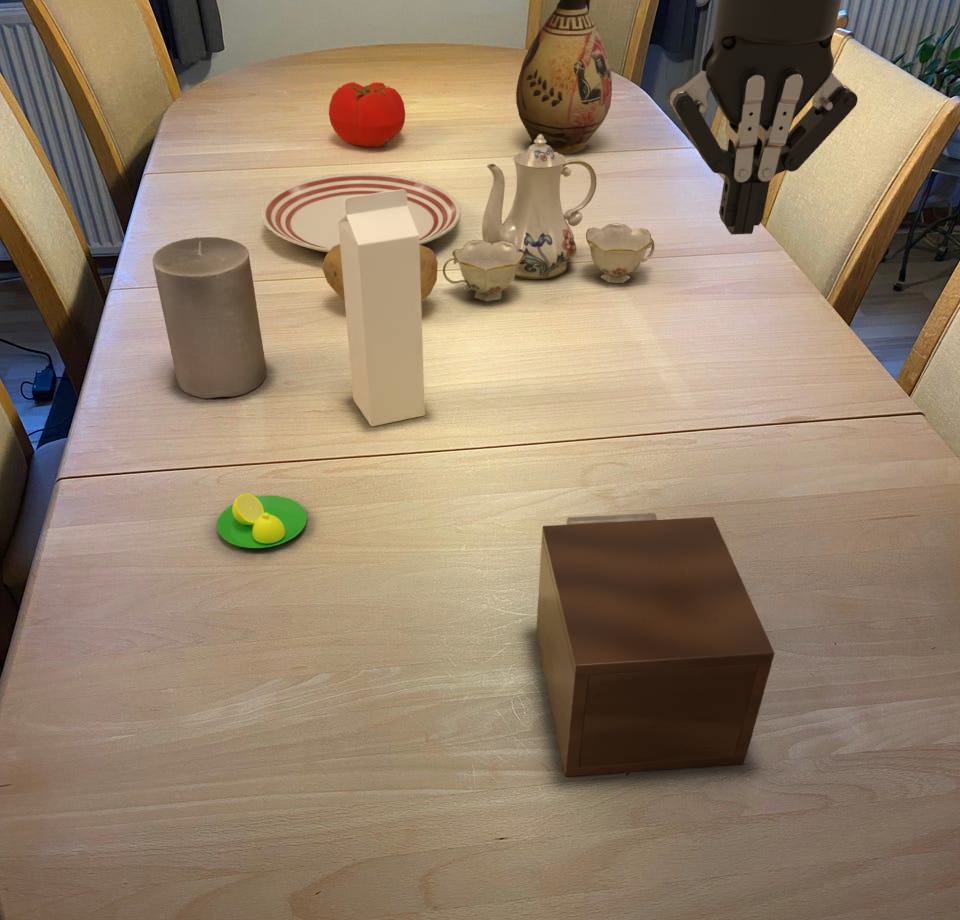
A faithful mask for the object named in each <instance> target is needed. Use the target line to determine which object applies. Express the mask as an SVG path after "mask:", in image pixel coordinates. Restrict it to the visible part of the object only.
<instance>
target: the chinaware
mask: <svg viewBox="0 0 960 920" xmlns="http://www.w3.org/2000/svg"><path fill="white" fill-rule="evenodd" d="M534 143H535V144H533V145H529V146H528V147H527V149H526V150H524V151H519V152H518V153H516V154H514V155H513V157H512V161H514V166H515V171H516V189H515V194H514V199H513V202H512V206H511V208H510V211H509V213H508V215H507V217H506V219H504V221H503V208H504V207H503V206H504V199H505V191H506V190H505V189H506V186H505V185H506V181H505V176H504V175H505V174H504V172H503V170H502V169H501V168H500V167H499V166H498V165H497V164H495V163H489V164H487V166H486V167H487V168H488V170H489V172H491V174H492V178H493V181H492V186H491V190H490V192H489V197H488V199H487V203H486V206H485V209H484V213H483V217H482V223H481V232H482V233H481V234H482V239H483V240H482V239H473V240H471V241H468V242H467V243H466V244H465V245H464V246H463V247H462V248H455V249H454V250H453V251H452V254H451V255H452V256H453V257H451V258H448V259H447V260H446V261H445V263H444V264H443V267H442V275H443V277H444V279H445V280H446V281H447V282H448V283H450V284H460V283H465V286H464V291H469V290H471V289H472V290H474V291H475V293H474V298H475V299H478V300H481V301H485V302H491V301H496V300H501V299H502V296H503V295H502V292H503V290H505V289H506V288H508V287H509V286H510V285H511V283H512V282H513V280H514V278H515V277H516V278H521V279H527V280H547V279H551V278H552V279H553V278H556V277H559V276H560V275H562V274H564V273H565V272H566V270H567V268H568V267H567V263H569V262H570V261H572V259H573V258H574V256H575V255H576V253H577V244H576V241H575V235H574V232H573V231H572V229H571V227H576V226H578V225H579V224H580V223H581V222H582V219H583V214H582V213H581V212H579V211H581V210H582V209H584V208H585V207H587V206H588V205H589V203H590V202H591V201H592V199H593V197H594V195H595V193H596V190H597V176H596V175H597V174H596V172H595V170H594V168H593V166H592V165H591V164H590V163H588V162H587V161H586V160H584V159H580V158H573V159H567V158H566V157H565V156H564V154H558V153H557V152H554V151H553V149H552V148H551V147H550V146H548V145H546V144H545V143H546V140H545V139H544V137H543V135H542V134H539V135H538V136H537V139H535V140H534ZM569 165H579V166H583V167H585V168H586V170H587V171H588V173H589V176H590V186H589V190H588V193H587V194H586V196H585V198H584V199H583V200H582V201H581V203H579V204H578V205H577V206H574V207H573V208H570V209H568V210H566V211H565V212H564V211H563V208H562V202H561V195H560V194H561V176H562V175H563V177H565V178H567V177H569V176H571V175H572V170H571V169H570V168H569V167H568V166H569ZM585 237H586V242H587V244H588V247H589V250H590V251H589V252H590V256H591V259H592V261H593V262H594V265H595V266H596V267H597V269H599V270H600V271H601V272H602V273H603V274H602V275H600V278H601V279H603V280H604V281H605V282H607V283H614V284H620V283H622V284H624V283H626V281H628V280H629V279H630V278H631V276H630V275H629V274H630V273H632V272H633V271H635V270H636V269H637V268H638V267H640V265H641V263H643V262H646V261H648V260H649V259H650V258H651V257H652V256H653V253H654V251H655V245H656V244H655V241H654V240H653V238H652V234H651V232H650V230H648V229H646V228H643V227H642V228H635V229H633V228H631V227H629V226H628V225H627V224H624V223H619V222H615V223H609V224H607V225H605V226H604V227H602V228H597V227H591V228H590V227H589V228H587V230H586V232H585ZM648 249H650V251H649V253H648V255H646V253H647V250H648ZM645 255H646V256H645ZM452 261H453V265H457V263H458V265H459V266H458V267H459V268H460V272H461V275H462V278H463V279H459V280H452V279H451V278H449V277H448V276H447V273H446V268H447V265H448V264H449V263H450V262H452Z"/></svg>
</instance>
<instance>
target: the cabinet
mask: <svg viewBox="0 0 960 920" xmlns="http://www.w3.org/2000/svg"><path fill="white" fill-rule="evenodd" d="M540 546H541V547H540V549H541V550H540V562H539V577H538V579H539V580H538V595H537V596H538V597H537V613H536V630H535V631H536V632H535V635H536V641H537V646H538V649H539V655H540V660H541V666H542V669H543V674H544V675H543V676H544V680H545V685H546V689H547V694H548V698H549V703H550V708H551V713H552V714H551V715H552V719H553V723H554V727H555V732H556V737H557V743H558V747H559V752H560V758H561V762H562V767H563V772H564V775H565V777H575V776H576V777H578V776H590V775H605V774H617V773H633V772H646V771H658V770H659V771H660V770H673V769H686V768H700V767H714V766H727V765H728V766H729V765H743V764H745V761H746V758H747V754H748V751H749V748H750V745H751V740H752V736H753V733H754V729H755V725H756V722H757V719H758V715H759V712H760V708H761V704H762V702H763V701H762V700H763V696H764V693H765V689H766V686H767V682H768V679H769V675H770V671H771V668H772V664H773V660H774V657H775V651H774V649H773V646H772V644H771V642H770V640H769V637H768V635H767V633H766V631H765V627H764V626H763V624H762V622H761V619H760V618H759V615H758V613H757V610H756V608H755V607H754V604H753V602H752V599H751V597H750V595H749V593H748V591H747V589H746V586H745V584H744V582H743V580H742V578H741V575H740V573H739V571H738V569H737V567H736V564H735V562H734V560H733V557H732V555H731V553H730V551H729V548H728V545H727V544H726V542H725V540H724V537H723V535H722V533H721V531H720V529H719V525H718V524H717V522H716V519H715V518H714V516H704V517H683V518H664V519H663V518H662V519H657V520H644V521H625V522H607V523H588V524H569V525H567V524H554V525H551V524H549V525H543V526H542V530H541V545H540Z"/></svg>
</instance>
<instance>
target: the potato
mask: <svg viewBox="0 0 960 920" xmlns="http://www.w3.org/2000/svg"><path fill="white" fill-rule="evenodd" d="M419 251H420V282H421V304H422V303H423V302H424V301H425V300H426V299H427V298H428V297H430V295H431V293H432V291H433V289H434V287H435V285H436V283H437V281H438V265H439V263H438V259H437V256H436V253H435V252H434V251H433V250H432V249H431V248H429V247H427V246H425V245H423V244H421V245H420V244H419ZM322 272H323V274H324V277H325V279H326V283H327V284H328V285H329V286H330V288H331V289H332V290H333V291H334V292H335V294H337V296H338V297H339V298H340V299H341V300H342V301H343V302H345V297H344V285H343V273H342V262H341V250H340V244H338V245H336V246H334V247H333V248H332V249H331V250H330V251H329V252H326V255H325V257H324V259H323V264H322Z"/></svg>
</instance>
